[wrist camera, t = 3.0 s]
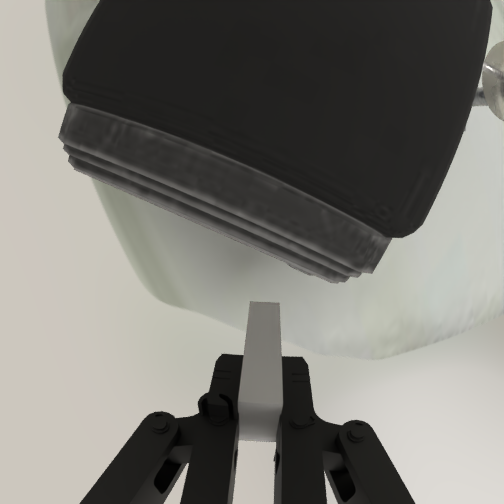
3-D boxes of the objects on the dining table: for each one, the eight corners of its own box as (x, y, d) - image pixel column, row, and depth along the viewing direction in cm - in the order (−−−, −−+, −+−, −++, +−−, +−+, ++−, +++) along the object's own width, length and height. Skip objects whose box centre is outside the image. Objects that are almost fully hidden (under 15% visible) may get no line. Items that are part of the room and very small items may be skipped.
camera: (174, 151, 19) (0, 203, 5) (235, 23, 15) (174, -128, 1) (308, 211, 20) (377, 371, 6) (372, 84, 16) (535, 29, 2)
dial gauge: (365, 55, 15) (458, -12, 4) (458, 83, 15) (569, 72, 4) (365, 110, 17) (475, 88, 6) (458, 132, 17) (575, 151, 5)
